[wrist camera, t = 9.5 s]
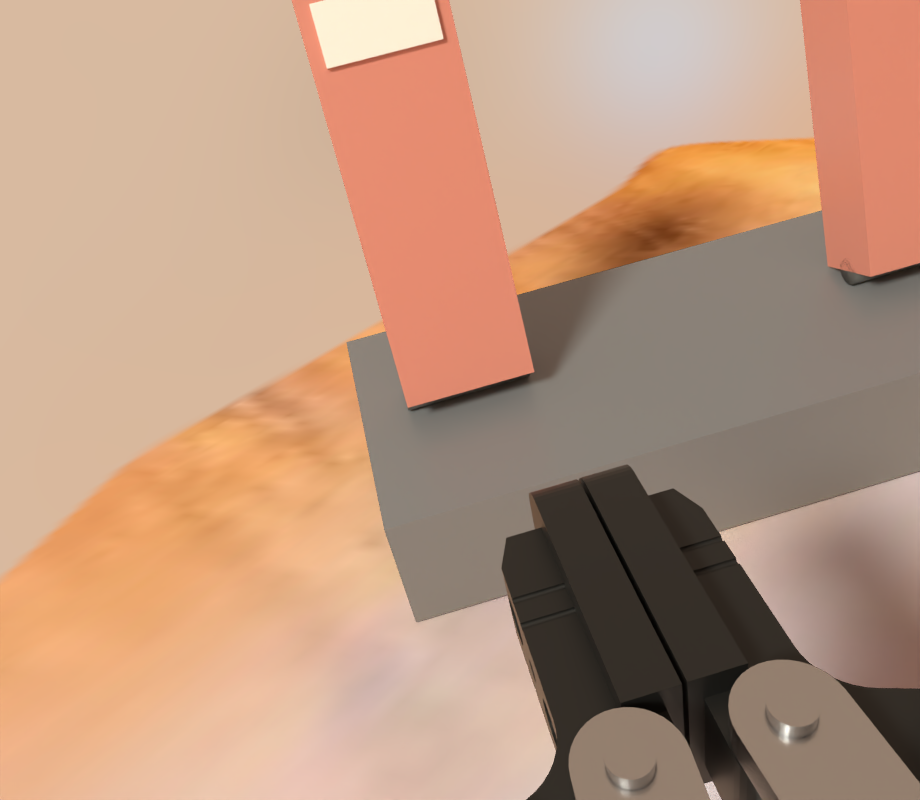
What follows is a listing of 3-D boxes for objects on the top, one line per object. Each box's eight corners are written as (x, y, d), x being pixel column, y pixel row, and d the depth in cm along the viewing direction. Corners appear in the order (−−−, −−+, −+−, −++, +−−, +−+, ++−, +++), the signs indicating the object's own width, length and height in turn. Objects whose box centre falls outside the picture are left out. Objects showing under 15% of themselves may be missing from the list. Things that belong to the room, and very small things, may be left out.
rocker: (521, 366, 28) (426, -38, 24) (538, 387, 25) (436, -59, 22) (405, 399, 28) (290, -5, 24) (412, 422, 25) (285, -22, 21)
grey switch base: (887, 275, 35) (900, 184, 32) (1090, 419, 26) (1127, 312, 24) (372, 421, 33) (345, 338, 31) (416, 622, 25) (384, 529, 23)
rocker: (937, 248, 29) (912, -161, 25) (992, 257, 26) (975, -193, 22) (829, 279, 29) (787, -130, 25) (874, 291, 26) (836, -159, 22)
